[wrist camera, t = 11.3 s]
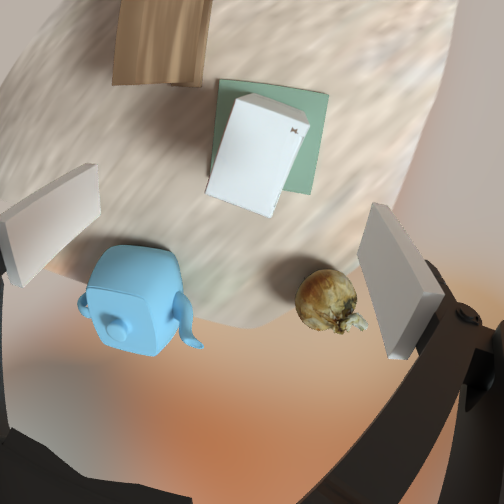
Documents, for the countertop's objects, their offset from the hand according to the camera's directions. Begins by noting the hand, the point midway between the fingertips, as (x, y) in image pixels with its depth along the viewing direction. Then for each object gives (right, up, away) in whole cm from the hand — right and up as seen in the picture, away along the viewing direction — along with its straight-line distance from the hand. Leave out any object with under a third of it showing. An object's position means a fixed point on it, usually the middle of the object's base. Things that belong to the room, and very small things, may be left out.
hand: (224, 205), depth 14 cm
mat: (+3, +10, +17) cm, 20 cm away
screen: (-4, +23, +11) cm, 26 cm away
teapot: (-12, -6, +29) cm, 32 cm away
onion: (+11, -6, +26) cm, 29 cm away
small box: (+3, +10, +17) cm, 20 cm away
